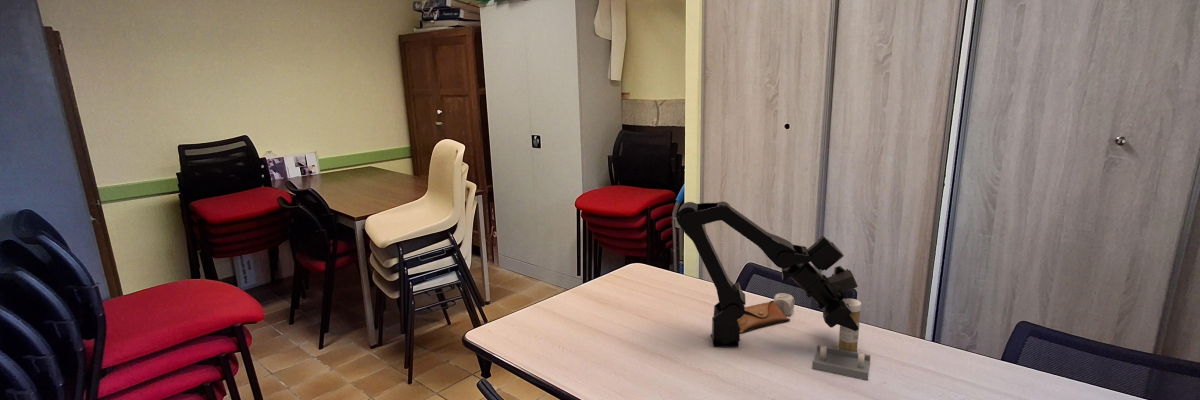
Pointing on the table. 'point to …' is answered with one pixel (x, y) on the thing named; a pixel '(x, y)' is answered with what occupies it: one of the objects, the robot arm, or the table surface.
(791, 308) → the die
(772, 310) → the sunglasses case
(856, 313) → the sprinkles bottle
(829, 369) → the tray
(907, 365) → the table surface
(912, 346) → the table surface
